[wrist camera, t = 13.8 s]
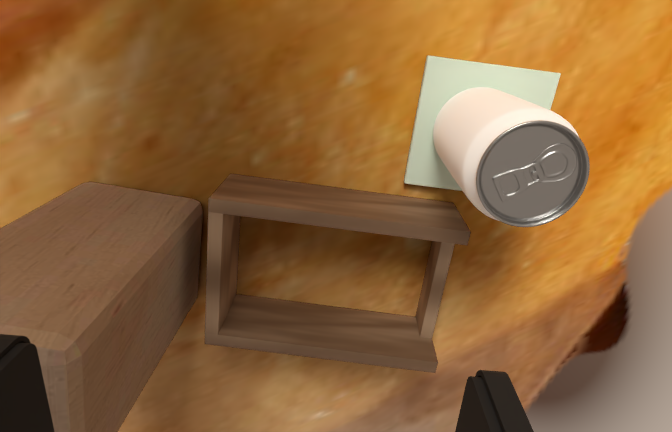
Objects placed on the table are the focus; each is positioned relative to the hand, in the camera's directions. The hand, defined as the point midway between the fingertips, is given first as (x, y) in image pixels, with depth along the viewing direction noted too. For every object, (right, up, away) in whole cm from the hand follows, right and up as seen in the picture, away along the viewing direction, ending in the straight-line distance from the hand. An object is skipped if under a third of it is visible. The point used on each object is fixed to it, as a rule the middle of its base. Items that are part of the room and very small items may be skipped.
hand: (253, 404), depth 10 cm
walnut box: (+2, +1, +30) cm, 30 cm away
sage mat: (+12, +11, +25) cm, 30 cm away
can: (+12, +11, +25) cm, 30 cm away
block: (-14, +2, +30) cm, 33 cm away
